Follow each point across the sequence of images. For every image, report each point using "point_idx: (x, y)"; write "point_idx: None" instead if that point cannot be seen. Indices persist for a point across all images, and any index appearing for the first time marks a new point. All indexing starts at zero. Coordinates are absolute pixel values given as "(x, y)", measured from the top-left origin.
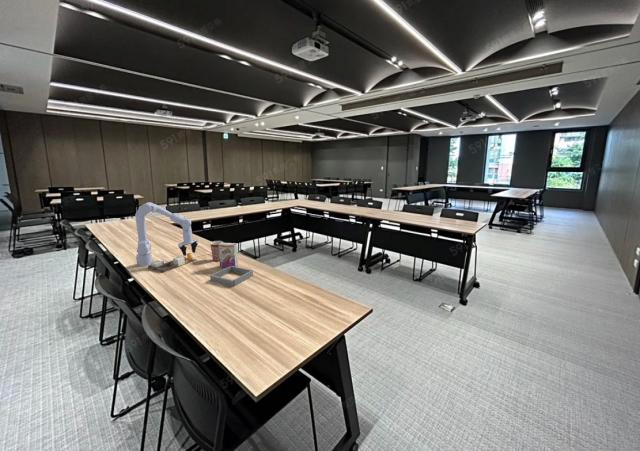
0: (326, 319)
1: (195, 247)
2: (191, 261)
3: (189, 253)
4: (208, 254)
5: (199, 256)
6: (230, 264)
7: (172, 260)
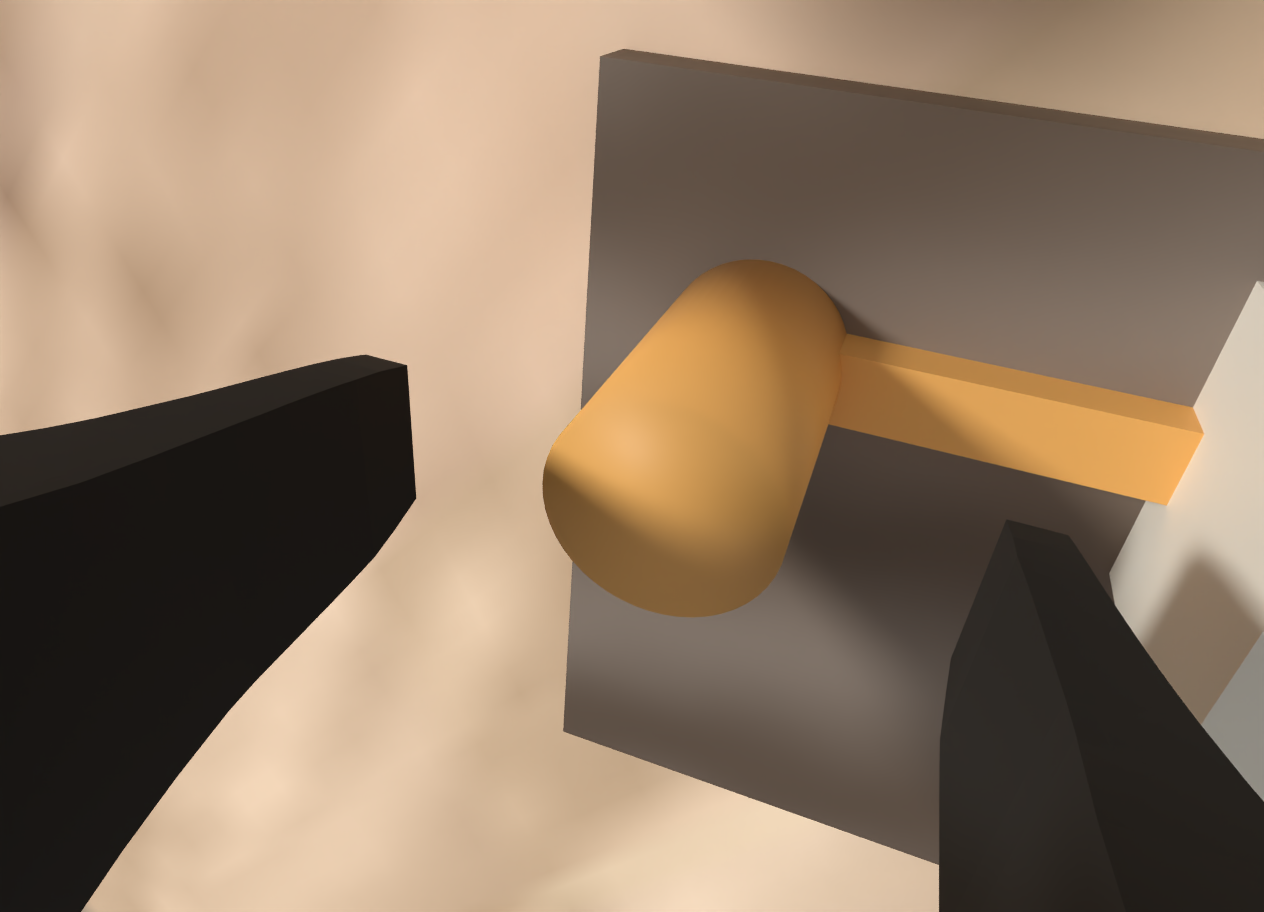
0: None
1: (52, 458)
2: (872, 180)
3: (620, 534)
4: (13, 197)
5: (264, 354)
6: None
7: (935, 863)
